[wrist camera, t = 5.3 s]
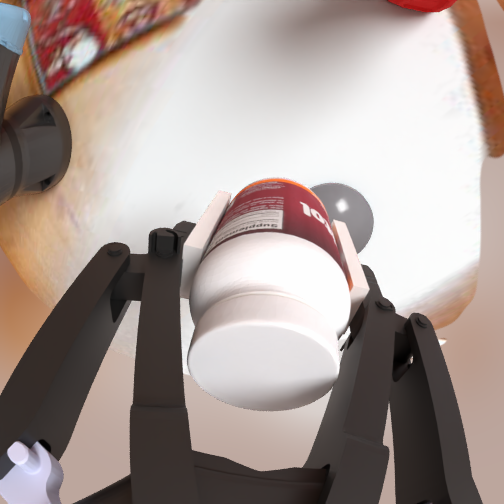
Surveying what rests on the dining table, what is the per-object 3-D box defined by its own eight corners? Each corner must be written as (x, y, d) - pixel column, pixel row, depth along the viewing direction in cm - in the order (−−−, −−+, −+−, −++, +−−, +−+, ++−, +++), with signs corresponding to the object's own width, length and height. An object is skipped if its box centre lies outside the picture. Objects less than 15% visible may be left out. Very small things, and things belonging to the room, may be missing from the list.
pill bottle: (338, 252, 18) (372, 406, 9) (249, 276, 20) (217, 427, 10) (310, 159, 16) (347, 272, 6) (210, 193, 17) (125, 323, 8)
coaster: (277, 250, 39) (277, 253, 38) (301, 171, 33) (302, 173, 32) (353, 269, 39) (353, 272, 39) (384, 198, 33) (386, 200, 33)
